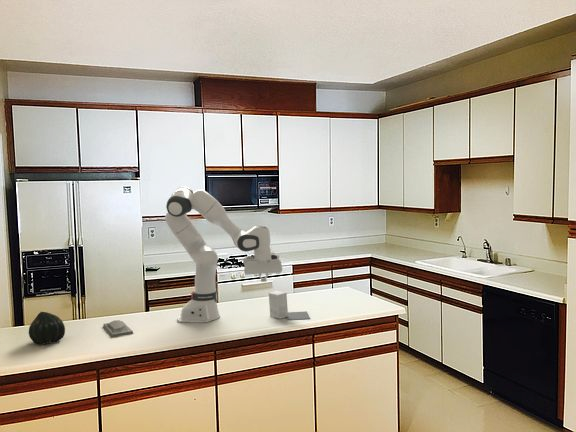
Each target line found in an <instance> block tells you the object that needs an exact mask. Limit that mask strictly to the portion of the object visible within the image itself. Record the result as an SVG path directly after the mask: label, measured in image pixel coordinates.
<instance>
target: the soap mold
mask: <svg viewBox="0 0 576 432" xmlns="http://www.w3.org/2000/svg"><path fill="white" fill-rule="evenodd" d="M102 328H103V329H104V330H105V331H106V332H107V334H109V337H111V338H112V339H113V338H116V337H122V336H127V335H132V334H133V335H134V332H133V329H131V328H130V327H129V326H128V325H127V324H126V323H125V322H124V321H122V320H121V319H117V320H112V321H110V322H106V323H103V326H102Z"/></svg>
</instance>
